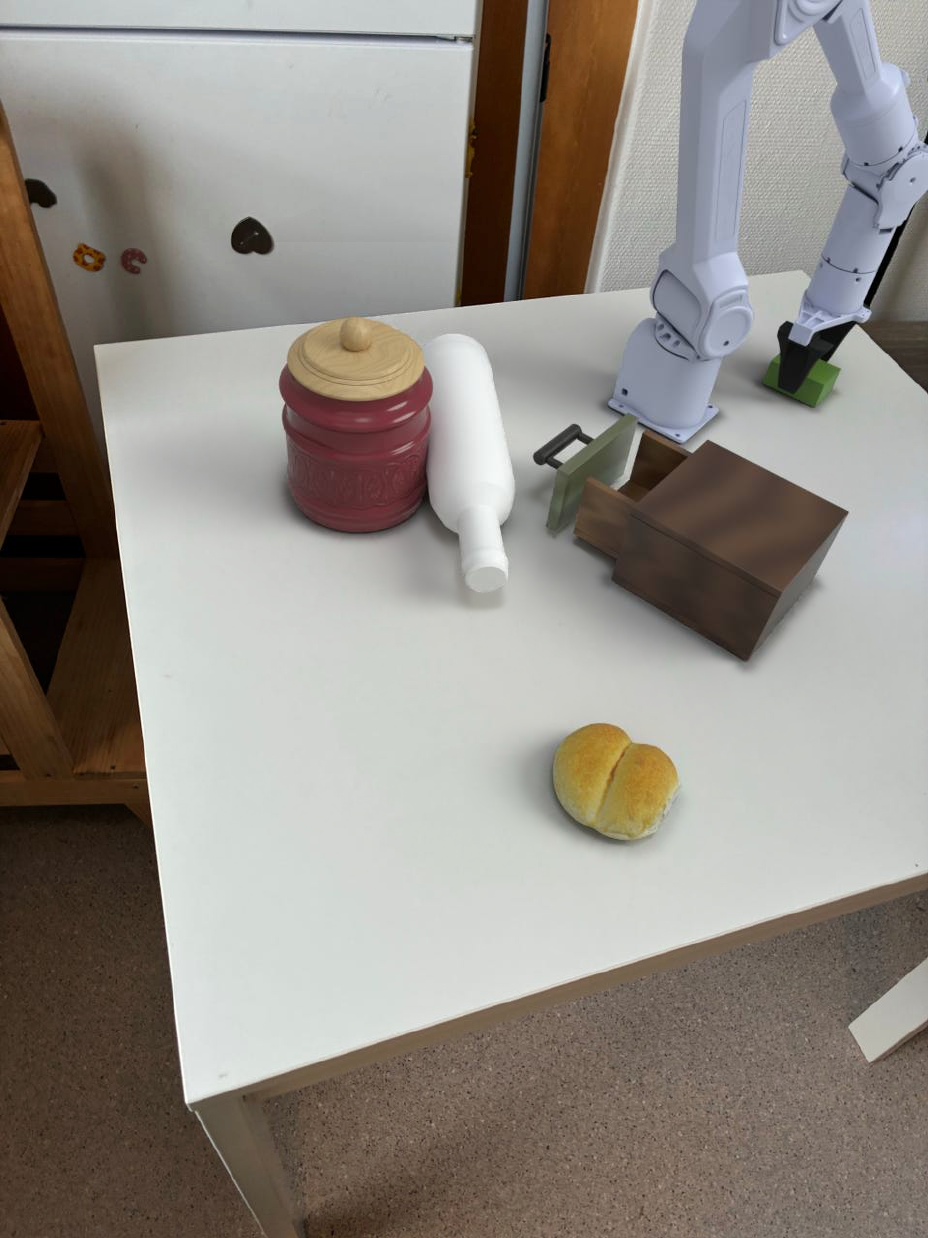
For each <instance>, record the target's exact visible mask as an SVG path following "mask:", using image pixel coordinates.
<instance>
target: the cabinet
mask: <svg viewBox="0 0 928 1238" xmlns="http://www.w3.org/2000/svg"><path fill="white" fill-rule="evenodd" d="M691 453H692V454H691V455H690V456H689V457H688V458H687V459H685V460H684V461H683V462H682V463H681V464H680V465H679V466H678V467H677V468H676V469H674V470H673V471H672V472H671V473H670V474H669V475H668V476H667V477H666V478H664V479H663V480H662V481H661V482H660V483H659V484H658V485H657V486H656V487H654V488H653V489H652V490H651V491H650V492H649V493H648V494H647V495H646V496H645V497H643V498H642V499H641V500H640V501H639V502H638V503H637V504H636V505H635V506H633V507H632V511H631V514H630V517H629V521H628V524H627V528H626V531H625V534H624V538H623V541H622V545H621V548H620V552H619V555H618V558H617V559H616V562H615V565H614V569H613V573H612V576H611V581H612V582H615V583H616V584H618V585H619V586H621V587H623V588H625V590H627V591H629V592H630V593H633V594H634V595H636V596H638V597H640V598H641V599H643V600H644V601H646V602H647V603H649V604H651V605H653V606H655V607H656V608H658V609H659V610H661V611H662V612H664V613H666V614H667V615H669V616H671V617H673V618H674V619H675V620H677V621H679V622H680V623H682V624H684V625H685V626H687V627H689V628H690V629H692V630H694V631H696V632H697V633H699V634H700V635H702V636H704V637H705V638H707V639H708V640H710V641H712V642H713V643H715V644H716V645H718V646H720V647H721V648H723V649H725V650H726V651H729V652H730V653H731V654H733V655H735V656H737V657H738V658H740V659H742V660H743V661H745V662H749V661H750V659H751V658H752V657H753V656H754V655H755V653H756V652H757V651H758V649H759V648H760V647H761V646H762V644H763V643H764V642H765V641H766V640H767V638H768V637H769V636H770V634H771V633H772V632H773V631H774V630H775V628H777V626H778V625H779V623H780V622H781V621H782V620H783V618H785V616H786V615H787V613H788V612H789V611H790V610H791V608H792V607H794V605H795V604H796V603H797V601H798V600H799V599H800V597H801V596H802V595H803V594H804V593H805V592H806V590H807V589H808V588H809V586H810V585H811V584H812V582H813V581H814V579H815V577H816V576H817V573H818V572H819V570H820V568H821V566H822V564H823V562H824V560H825V559H826V557H827V555H828V552H829V551H830V550H831V547H832V545H833V543H834V541H835V540H836V538H837V536H838V534H839V532H840V530H841V528H842V527H843V525H844V523H845V521H846V519H847V517H848V515H849V514H850V511H849V510H847V509H846V508H845V509H844V508H843V507H841V506H839V505H837V504H835V503H833V502H831V501H829V500H827V499H825V498H823V497H821V496H820V495H817V494H815V493H814V492H812V491H810V490H808V489H806V488H804V487H802V486H800V485H798V484H796V483H794V482H792V481H790V480H788V479H787V478H784V477H782V476H780V475H778V474H777V473H774V472H772V471H771V470H769V469H767V468H765V467H763V466H761V465H759V464H757V463H755V462H753V461H752V460H749V459H747V458H745V457H743V456H742V455H739V454H737V453H735V452H733V451H731V450H730V449H727V448H726V447H724V446H722V445H720V444H719V443H716V442H714V441H712V440H710V439H706V440H705V441H704V442H703V443H702V444H700V445H699V447H698V448H696V449H695V450H694V451H693V452H691Z"/></svg>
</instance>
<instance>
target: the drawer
mask: <svg viewBox="0 0 928 1238" xmlns="http://www.w3.org/2000/svg"><path fill="white" fill-rule="evenodd" d="M638 419H639V418H638V417H636V416H634V415H632V414H631V413H627V414H626V415H625V414H623V416H622V417H620V418H619V419H618V420H617V421H616V422H614V423H613V424H612V425H610V427H608V428H607V429H605V430H604V431H603V432H602V433H600V434H599V435H598V436H597V437H595V438H594V437H591V436H590V435H588V434H586V433H584V432H583V430H582V427H581V426H580V425H579V424H577V423H572V424H570V425H569V426H568V427H566V428H565V429H564V430H563V431H561V432H559V433H558V434H557V435H555V436H554V437H553V438H551V440H549V441H548V442H546V443H545V444H544V445H543V446H541V447H540V448H538V449H537V450H535V452H534V453H533V454H532V459H533V461H534V463H535V464H536V465H538V466H540V467H541V466H542V467H543V466H545V465H547V466H549V467H550V468H552V469H554V470H556V474H555V478H554V483H553V488H552V494H551V500H550V503H549V509H548V513H547V519H546V524H545V527H546V528H548V529H550V530H551V531H553V532H555V533H557V532H559V531H560V530H561V529H562V528H563V527H564V526H565V525H567V523H570V521H571V520H573V519H574V518H575V517H576V519H575V524H574V528H573V531H572V532H573V533H572V534H574V535H575V536H577V537H579V538H580V539H582V540H583V541H585V542H587V543H589V544H591V545H592V546H593V547H595V548H597V549H598V550H600V551H601V552H604V553H605V554H607V555H609V556H610V557H612V558H614V559H616V560H617V558H618V555H619V552H620V548H621V545H622V541H623V538H624V534H625V531H626V528H627V524H628V521H629V517H630V514H631V511H632V507H633V506H635V505H636V504H637V503H638V502H639V501H640V500H641V499H642V498H643V497H645V496H646V495H647V494H648V493H649V492H650V491H651V490H652V489H653V488H654V487H656V486H657V485H658V484H659V483H660V482H661V481H662V480H663V479H664V478H666V477H667V476H668V475H669V474H670V473H671V472H672V471H673V470H674V469H676V468H677V467H678V466H679V465H680V464H681V463H682V462H683V461H684V460H685V459H687V458H688V457H689V456H690V455H691V454H692V453H693V452H691V451H689V450H688V449H686V448H683V447H682V446H680V445H679V444H676V443H675V442H672V441H670V440H668V439H667V438H664V437H662V436H661V435H658V434H657V433H655V432H653V431H651V430H648V429H647V428H646V429H645V430H644V431H643V432H642V433H641V436H640V439H639V444H638V447H637V451H636V454H635V458H634V460H633V461H634V462H633V464H632V469H631V473H630V476H629V479H628V480H627V481H626V482H625V483H623V484H622V485H621V486H620V487H618V489H614V488H613V487H611V486H612V485H613V484H615V482H617V481H618V480H619V479H620V478H622V477H623V476H624V474H625V471H626V467H627V463H628V459H629V455H630V453H631V448H632V445H633V440H634V437H635V434H636V430H637V426H638V423H639V422H638ZM576 440H577V441H579V442H580V443H583V444H584V445H585V446H584V447H583V448H582V449H580V450H579V451H577V452H576V453H575V454H574V455H572V457H570V458H569V459H568V460H567V461H565V462H564V463H563V461H560V460H558V459H557V458H555V457H556V456H557V455H559V454H560V453H561V452H562V451H564V450H565V449H566V448H568V447H569V446H570V445H572V444H573V443H575V442H576Z"/></svg>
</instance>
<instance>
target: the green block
mask: <svg viewBox="0 0 928 1238" xmlns="http://www.w3.org/2000/svg"><path fill="white" fill-rule="evenodd" d="M779 367H780V352H779V353H778V354H776V356H774V357H773V358H772V359H771V360H770V362H769V365H768V368H767V369H766V371H765V372H766V373H765V375H764V378H763V381H762V384H763V385H765V386H768V387H770V388H771V389H774V390H775V391H777V392H779V393H782V394H785V395H786V396H788V397H791V398H792V399H795V400H797V401H799V402H801V403H803V404H806V405H808V406H810V407H812V408H816V407H817V406H818V405H819V404H820V403H821V402H822V401H823V400H824V399H825V398H826V397H827V396H828V395H830V393H831V392H832V390H833V388H834V386H835V384H836V381H837V379H838V377H839V375H840V373H841V371H842V368H841V367H838V366H836V365H834V364H831V363H829V362H825V361H823V360H821V359H819V360H818V361H817V362H816V364H815V365H814V367H813V368H812V370H811V371H810V373H809V375H808V376H807V378H806V380H805V381H804V383H803V384H802V386H801V387H800V388H799V390H798V391H797V392H796V393H795V394H791V393H789V392H787V391H785V390H783V389H781V388H778V374H779Z"/></svg>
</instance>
